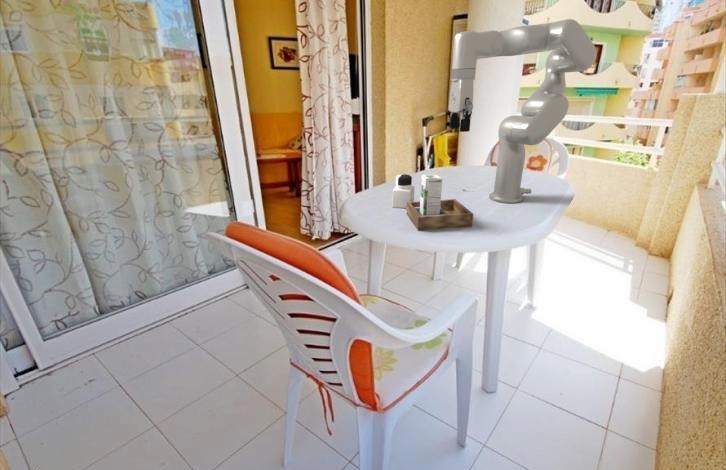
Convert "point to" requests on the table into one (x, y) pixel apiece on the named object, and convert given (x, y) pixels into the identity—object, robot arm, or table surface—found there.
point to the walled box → (441, 216)
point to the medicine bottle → (402, 191)
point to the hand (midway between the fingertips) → (459, 129)
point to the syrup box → (430, 195)
